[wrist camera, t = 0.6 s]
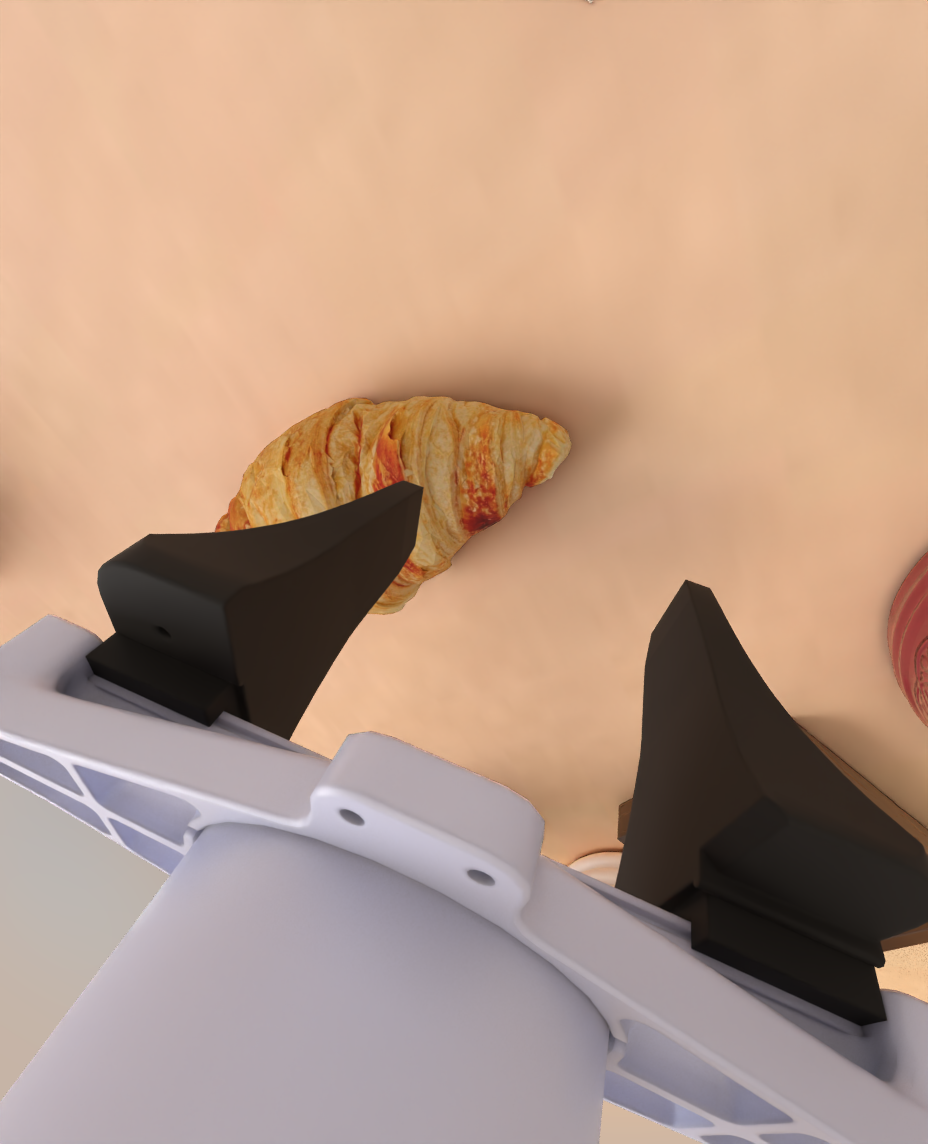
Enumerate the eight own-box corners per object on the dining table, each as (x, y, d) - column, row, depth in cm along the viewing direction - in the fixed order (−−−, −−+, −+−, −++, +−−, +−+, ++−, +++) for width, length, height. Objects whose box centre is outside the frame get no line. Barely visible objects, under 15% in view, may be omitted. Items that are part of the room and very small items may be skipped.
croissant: (561, 352, 24) (497, 260, 17) (615, 558, 23) (572, 554, 16) (250, 492, 33) (122, 472, 26) (280, 644, 32) (155, 667, 25)
